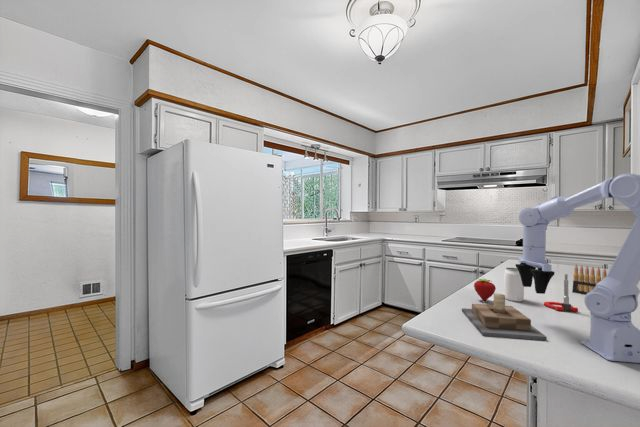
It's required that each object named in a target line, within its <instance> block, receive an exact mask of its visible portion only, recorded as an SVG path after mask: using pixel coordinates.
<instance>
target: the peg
mask: <svg viewBox="0 0 640 427" xmlns="http://www.w3.org/2000/svg"><path fill="white" fill-rule="evenodd" d="M493 305H494V313H499V314H505V306H506V299H505V295H504V293H494V294H493Z"/></svg>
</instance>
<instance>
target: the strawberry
mask: <svg viewBox="0 0 640 427" xmlns="http://www.w3.org/2000/svg"><path fill="white" fill-rule="evenodd" d="M473 288H474V290H475V292H476V293H477V295H478V296H479V297H480V298H481V300H483V301H485V302H486V301H487V300H488V299H489V298H491V297H492V296H494V294H495V291H496V289H497V288H496V285H495V284H494V283H492V282H491V280H490V279H486V278H478V280H476V281H475V282H474V284H473Z"/></svg>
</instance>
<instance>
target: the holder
mask: <svg viewBox="0 0 640 427" xmlns="http://www.w3.org/2000/svg"><path fill="white" fill-rule="evenodd" d="M461 312H462V313H463V315H465V317H466V318H467V320H469V321H470V323H471V324H472V325H473V326H474V327H475V329H476V330H477V331H478V332H479V333H480V334H481V336H483V337H495V338H496V337H497V338H511V339H523V340H535V341H536V340H537V341H538V340H539V341H547V339H548V338H547V335H545V334H544V333H542V332H541V331H539V330H538V329H537V328H535V327H534V326H533V325H531V324H532V319H530V318H529V317H528V316H526V315H525V314H523V312H521V311H520V310H518V309H516V308H515V307H514V306H513V305H505V314H499V313H494V304H483V303H482V304H481V303H471V308H466V307H464V308H463V307H462V308H461Z"/></svg>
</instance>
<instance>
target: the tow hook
mask: <svg viewBox="0 0 640 427" xmlns="http://www.w3.org/2000/svg"><path fill="white" fill-rule="evenodd" d="M568 278H569V276H568V274H567V273H564V279H563V302H559V301H544V302H543V306H545V307H547V308H551V309H554V310H555V311H558V312H574V313H576V312H577V313H578V312H579V308H578V307H575V306H573V305H572V304H571V303H570V296H569V279H568Z"/></svg>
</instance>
